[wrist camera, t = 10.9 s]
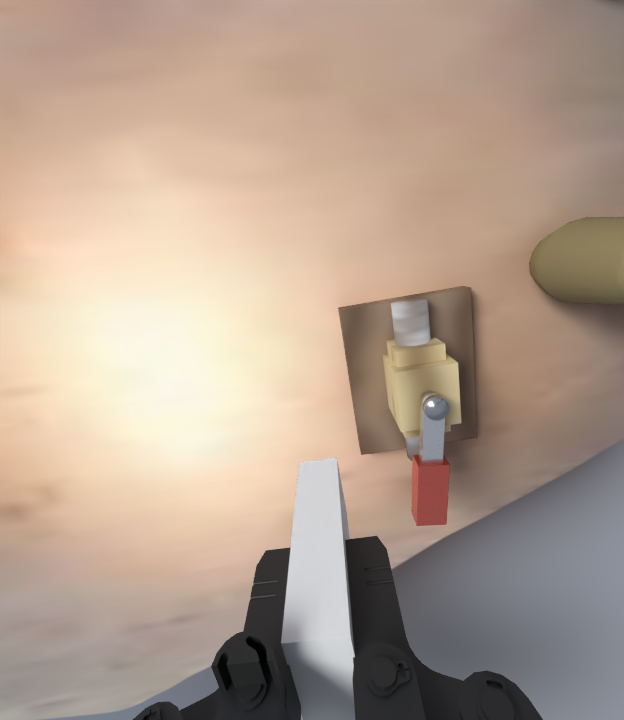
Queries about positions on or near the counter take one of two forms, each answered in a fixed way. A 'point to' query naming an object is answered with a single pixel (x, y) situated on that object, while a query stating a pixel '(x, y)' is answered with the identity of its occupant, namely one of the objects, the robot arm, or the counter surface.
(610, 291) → the squeeze bottle
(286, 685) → the robot arm
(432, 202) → the counter surface
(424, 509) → the lever
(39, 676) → the counter surface
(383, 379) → the valve board
